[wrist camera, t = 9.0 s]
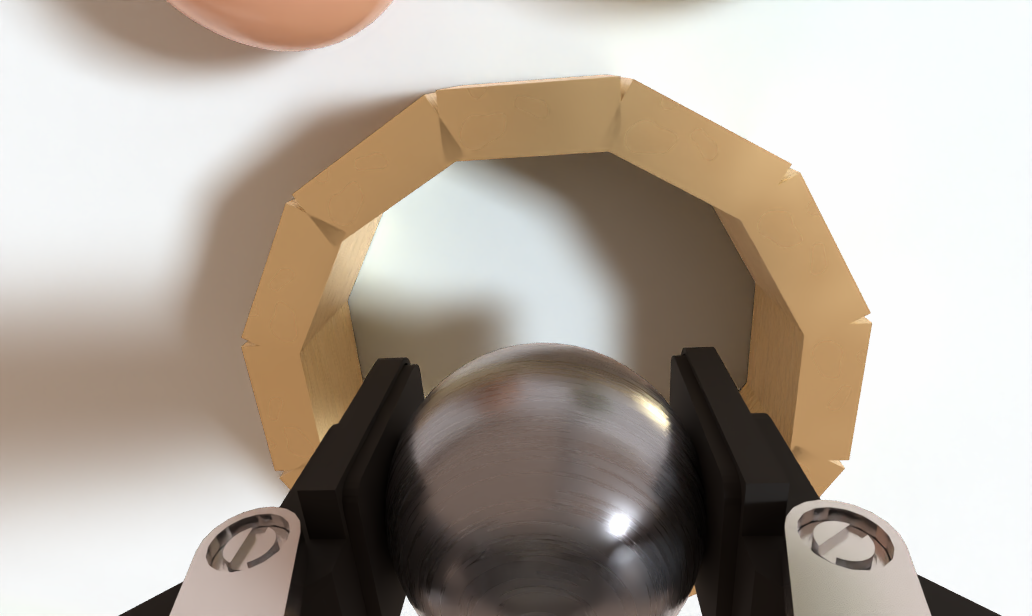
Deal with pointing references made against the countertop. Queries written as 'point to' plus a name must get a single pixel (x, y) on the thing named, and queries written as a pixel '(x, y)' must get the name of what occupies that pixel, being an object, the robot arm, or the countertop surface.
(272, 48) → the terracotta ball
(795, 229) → the ring
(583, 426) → the steel ball
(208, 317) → the countertop surface
